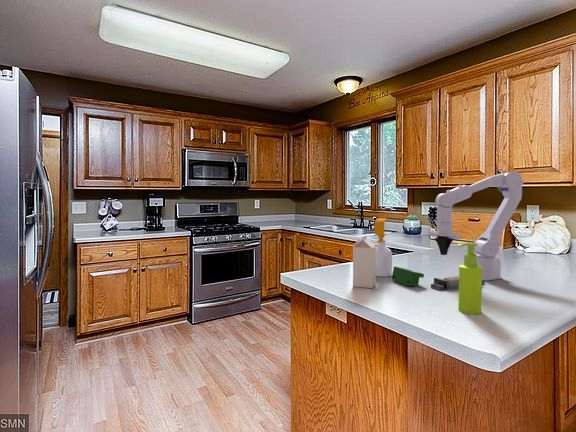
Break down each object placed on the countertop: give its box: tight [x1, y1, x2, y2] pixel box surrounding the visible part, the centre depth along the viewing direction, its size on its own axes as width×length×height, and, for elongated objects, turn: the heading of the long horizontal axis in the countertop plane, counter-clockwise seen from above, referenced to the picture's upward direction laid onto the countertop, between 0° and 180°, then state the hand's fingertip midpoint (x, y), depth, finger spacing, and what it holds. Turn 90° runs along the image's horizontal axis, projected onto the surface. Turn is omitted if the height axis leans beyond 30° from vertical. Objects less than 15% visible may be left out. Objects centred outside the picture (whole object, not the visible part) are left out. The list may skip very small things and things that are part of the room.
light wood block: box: [443, 275, 459, 280], centre depth 127 cm, size 9×4×3 cm, turn 111°
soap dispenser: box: [456, 242, 483, 315], centre depth 98 cm, size 6×7×20 cm
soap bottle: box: [374, 217, 393, 278], centre depth 144 cm, size 9×9×25 cm
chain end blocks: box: [430, 277, 486, 291], centre depth 127 cm, size 23×6×3 cm, turn 112°
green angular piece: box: [391, 266, 425, 288], centre depth 130 cm, size 12×6×9 cm, turn 15°
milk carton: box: [352, 234, 377, 289], centre depth 127 cm, size 7×7×19 cm
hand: (443, 254), depth 140 cm, fingers closed
